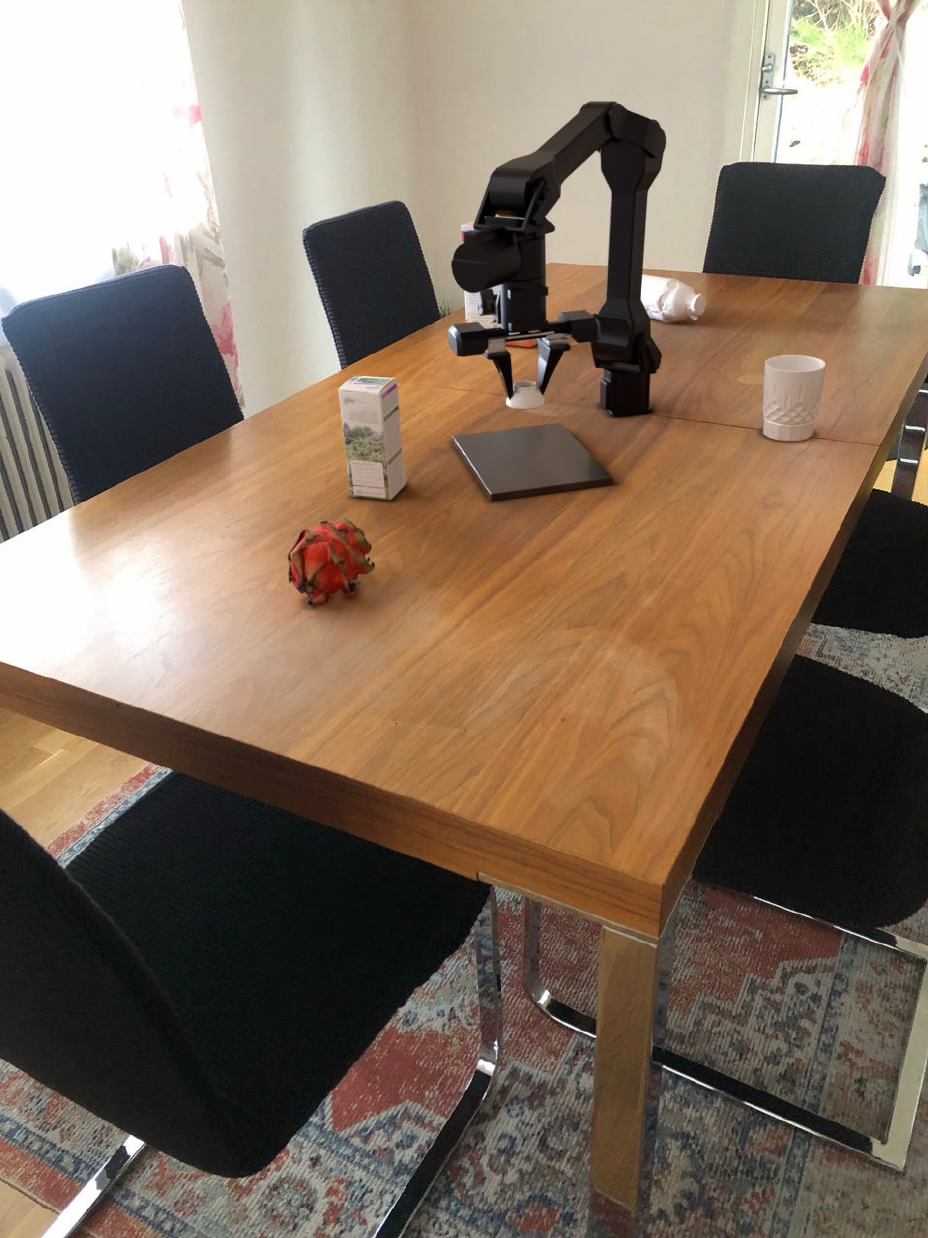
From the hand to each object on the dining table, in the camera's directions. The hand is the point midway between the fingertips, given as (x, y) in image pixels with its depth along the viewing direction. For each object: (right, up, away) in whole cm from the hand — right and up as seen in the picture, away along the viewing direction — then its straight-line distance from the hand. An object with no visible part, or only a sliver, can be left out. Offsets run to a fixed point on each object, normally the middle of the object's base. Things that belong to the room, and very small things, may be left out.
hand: (525, 398), depth 136 cm
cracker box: (0, +23, +57) cm, 62 cm away
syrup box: (-19, -13, -2) cm, 23 cm away
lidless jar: (0, -1, +1) cm, 1 cm away
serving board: (+1, -8, +4) cm, 9 cm away
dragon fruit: (-22, -26, -26) cm, 43 cm away
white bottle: (+30, +30, +66) cm, 78 cm away
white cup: (+37, -3, +9) cm, 38 cm away
